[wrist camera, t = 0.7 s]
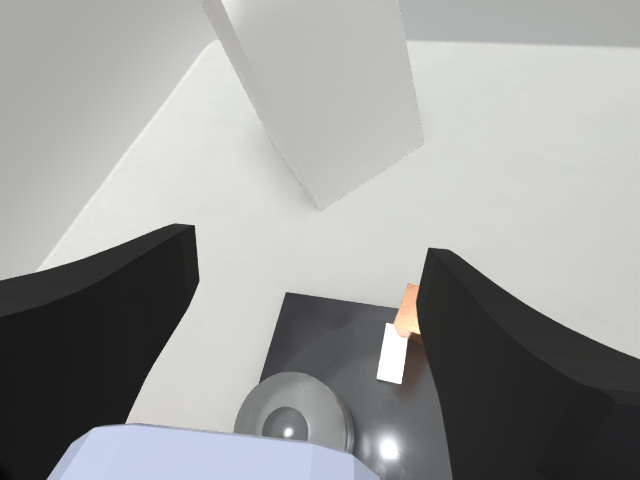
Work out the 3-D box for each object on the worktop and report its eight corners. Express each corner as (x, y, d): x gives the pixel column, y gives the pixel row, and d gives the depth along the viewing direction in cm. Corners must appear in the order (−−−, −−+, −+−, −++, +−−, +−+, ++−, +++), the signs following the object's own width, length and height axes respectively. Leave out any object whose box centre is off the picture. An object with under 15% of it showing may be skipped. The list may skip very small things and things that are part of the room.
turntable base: (559, 763, 17) (563, 775, 17) (205, 582, 25) (198, 585, 24) (553, 335, 26) (556, 332, 25) (289, 295, 33) (286, 292, 32)
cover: (341, 515, 22) (325, 524, 19) (240, 478, 25) (213, 481, 22) (364, 391, 25) (353, 384, 22) (271, 369, 28) (251, 360, 25)
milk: (320, 211, 36) (127, -145, 15) (273, 145, 43) (90, -172, 21) (424, 144, 37) (384, -305, 15) (361, 88, 43) (271, -285, 21)
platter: (487, 733, 18) (496, 798, 14) (216, 528, 25) (180, 540, 22) (561, 349, 24) (578, 332, 21) (328, 276, 32) (313, 255, 28)
